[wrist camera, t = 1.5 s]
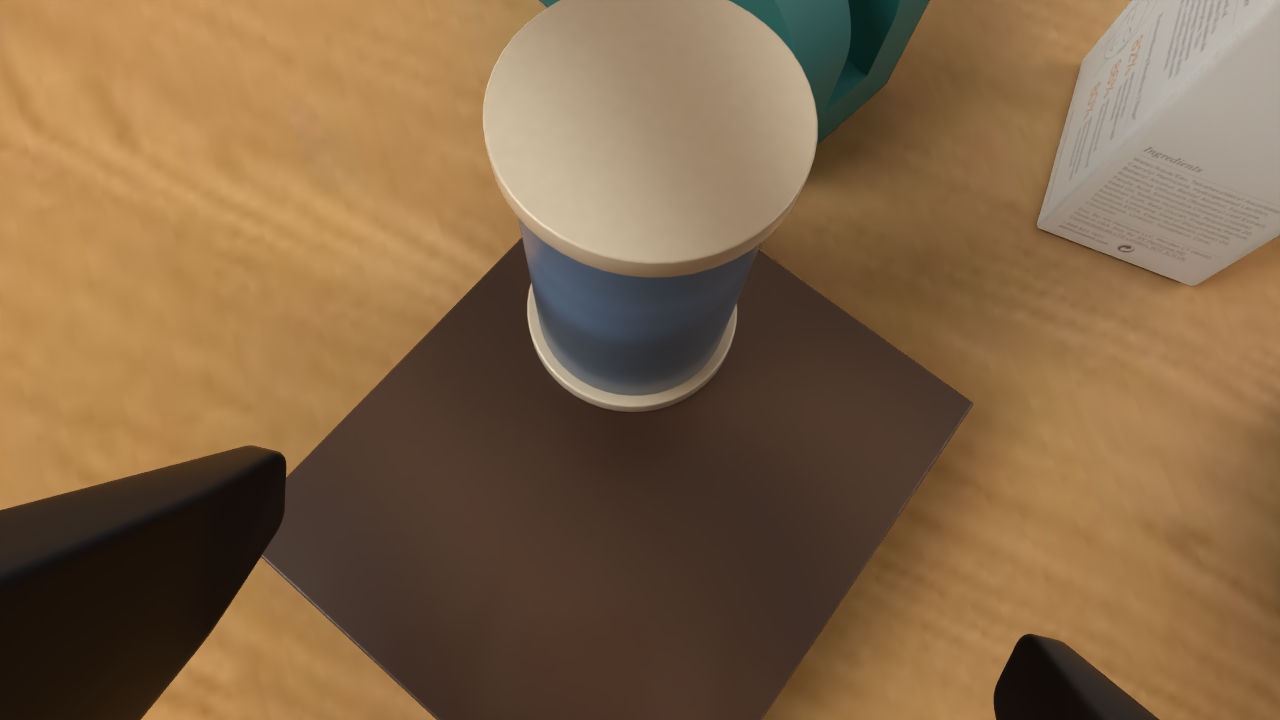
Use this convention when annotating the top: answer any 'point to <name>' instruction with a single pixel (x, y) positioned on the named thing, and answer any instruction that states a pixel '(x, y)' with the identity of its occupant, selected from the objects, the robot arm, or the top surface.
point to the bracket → (839, 46)
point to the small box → (1174, 138)
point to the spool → (644, 183)
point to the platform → (610, 512)
